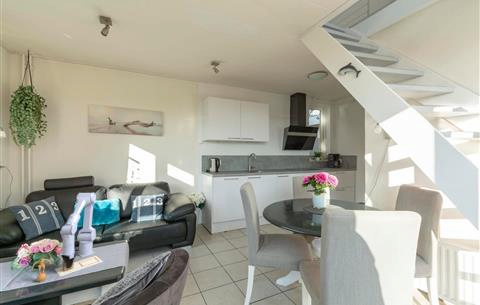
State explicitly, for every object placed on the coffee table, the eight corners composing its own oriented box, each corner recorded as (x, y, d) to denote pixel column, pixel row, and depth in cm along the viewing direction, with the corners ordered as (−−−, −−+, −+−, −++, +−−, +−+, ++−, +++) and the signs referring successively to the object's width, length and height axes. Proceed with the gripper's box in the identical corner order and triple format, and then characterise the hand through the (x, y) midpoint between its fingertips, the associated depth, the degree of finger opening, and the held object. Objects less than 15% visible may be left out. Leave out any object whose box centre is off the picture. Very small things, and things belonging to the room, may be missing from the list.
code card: (54, 269, 130) (54, 268, 130) (95, 255, 147) (95, 255, 147) (60, 276, 122) (60, 276, 122) (103, 261, 139) (103, 261, 139)
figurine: (31, 285, 114) (32, 263, 114) (30, 281, 118) (31, 259, 118) (51, 278, 120) (52, 257, 120) (50, 274, 124) (51, 254, 124)
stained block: (62, 268, 129) (62, 260, 129) (71, 265, 133) (71, 257, 133) (64, 271, 127) (64, 262, 127) (73, 267, 130) (73, 259, 130)
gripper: (57, 243, 131) (56, 265, 131) (63, 250, 122) (63, 273, 122) (71, 239, 137) (70, 260, 137) (78, 245, 128) (77, 268, 128)
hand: (68, 266), depth 130 cm, fingers closed on stained block, 4 cm apart
